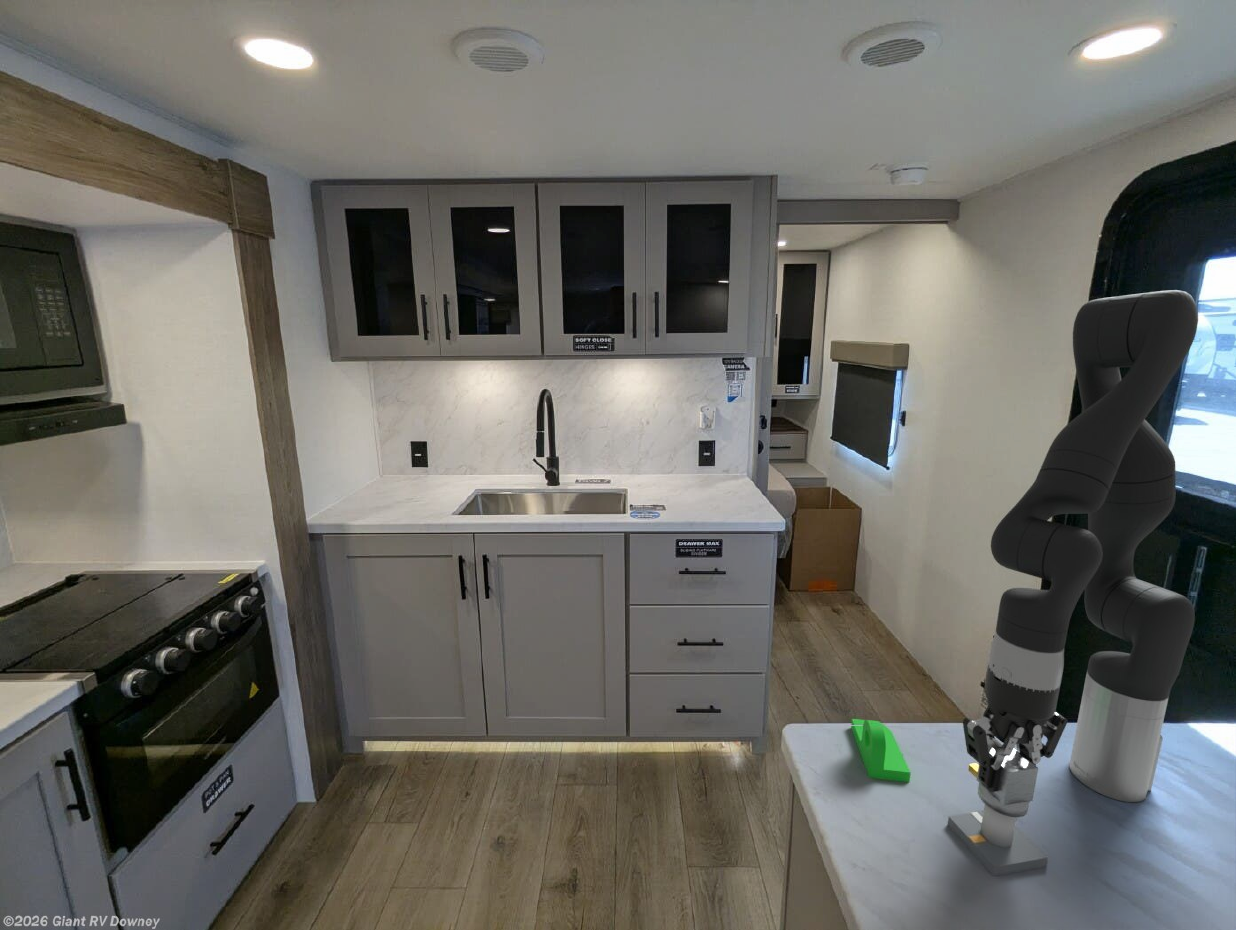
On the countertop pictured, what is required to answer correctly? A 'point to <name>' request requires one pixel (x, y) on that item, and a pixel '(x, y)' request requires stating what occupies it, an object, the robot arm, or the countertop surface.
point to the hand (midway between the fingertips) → (1004, 783)
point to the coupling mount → (997, 841)
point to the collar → (1010, 785)
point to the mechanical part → (880, 751)
